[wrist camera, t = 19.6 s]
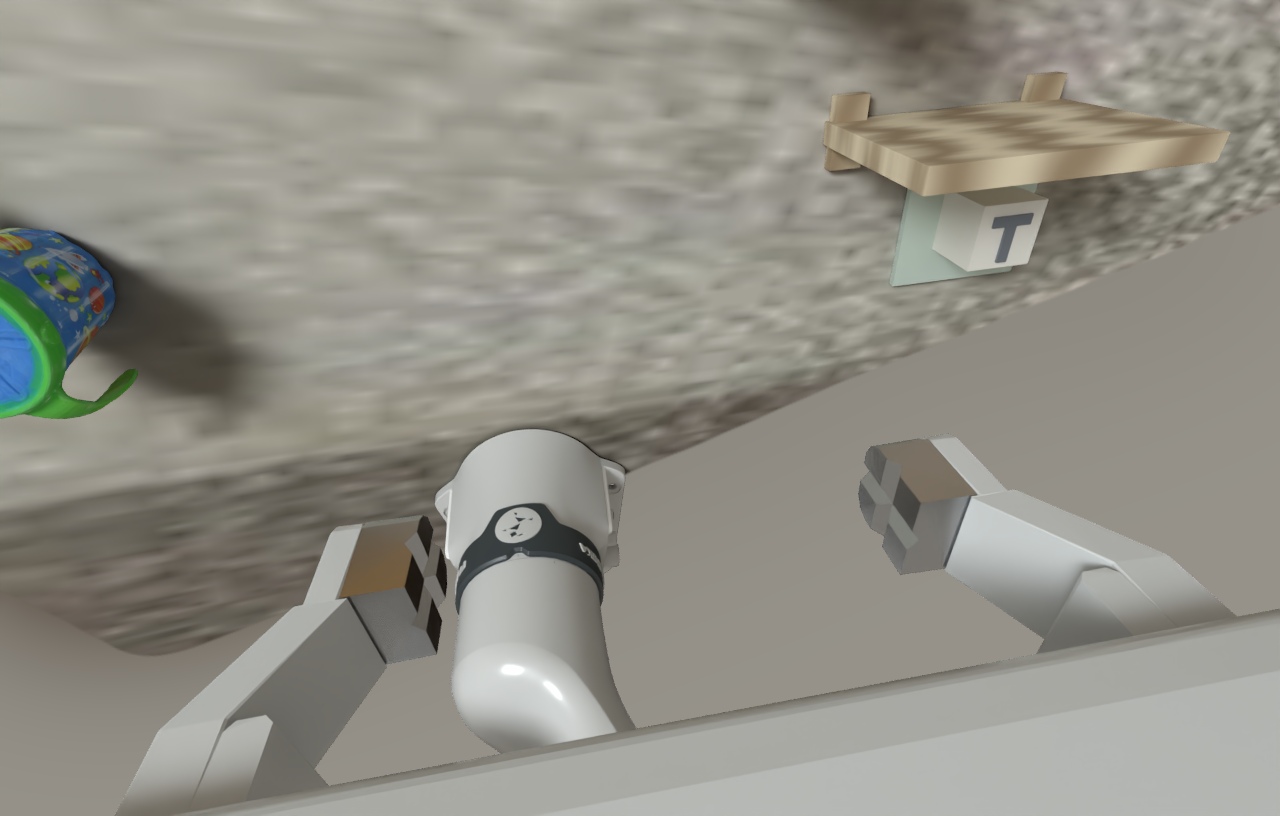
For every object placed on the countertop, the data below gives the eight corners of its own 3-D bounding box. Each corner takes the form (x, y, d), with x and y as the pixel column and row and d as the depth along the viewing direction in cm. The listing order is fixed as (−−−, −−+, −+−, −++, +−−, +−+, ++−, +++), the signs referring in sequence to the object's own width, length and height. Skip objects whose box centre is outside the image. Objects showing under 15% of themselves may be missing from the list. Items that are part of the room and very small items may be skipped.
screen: (1061, 71, 44) (1247, 98, 32) (1039, 143, 46) (1202, 191, 35) (828, 95, 42) (936, 132, 31) (820, 168, 45) (917, 226, 34)
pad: (1006, 268, 53) (1010, 271, 52) (889, 283, 52) (892, 286, 51) (1047, 136, 46) (1052, 137, 46) (914, 151, 45) (918, 152, 45)
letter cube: (986, 244, 50) (1028, 266, 46) (931, 251, 50) (968, 275, 46) (1004, 181, 47) (1050, 199, 43) (946, 188, 47) (986, 207, 43)
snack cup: (-127, 207, 38) (-313, 266, 29) (3, 133, 36) (-152, 174, 28) (96, 388, 47) (2, 472, 38) (207, 334, 45) (134, 409, 37)
